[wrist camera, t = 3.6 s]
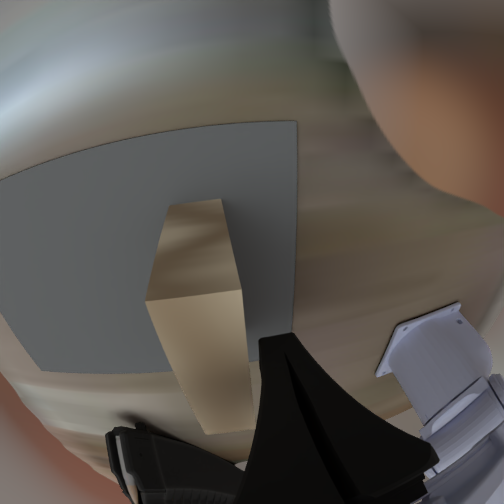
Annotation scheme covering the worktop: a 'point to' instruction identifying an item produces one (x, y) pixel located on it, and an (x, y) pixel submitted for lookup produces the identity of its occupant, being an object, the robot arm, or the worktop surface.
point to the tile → (202, 315)
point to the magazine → (168, 469)
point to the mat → (142, 240)
